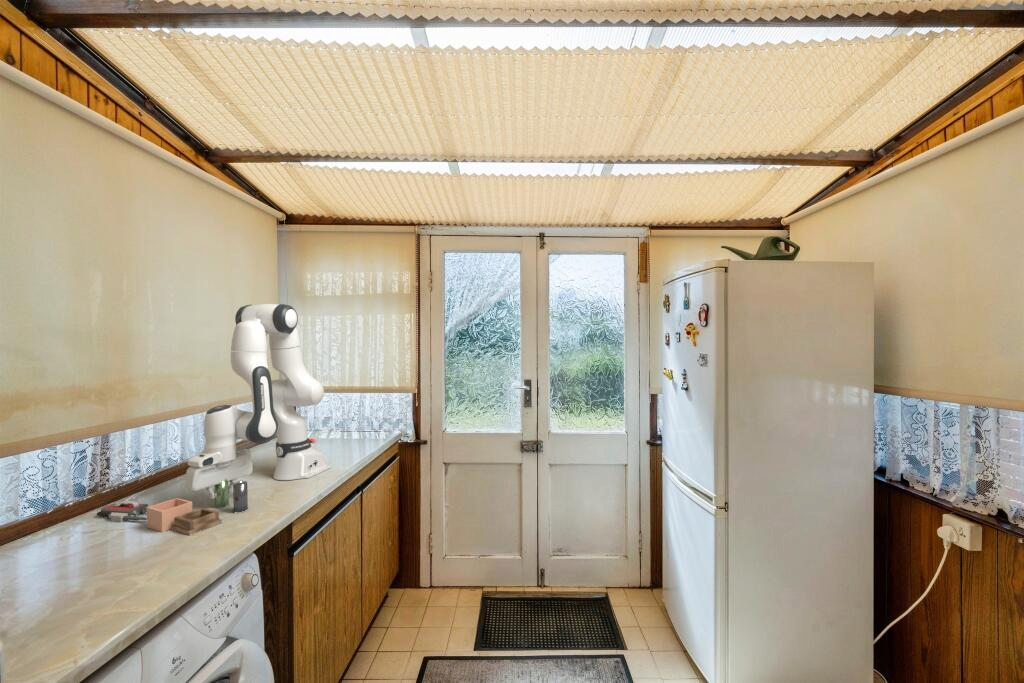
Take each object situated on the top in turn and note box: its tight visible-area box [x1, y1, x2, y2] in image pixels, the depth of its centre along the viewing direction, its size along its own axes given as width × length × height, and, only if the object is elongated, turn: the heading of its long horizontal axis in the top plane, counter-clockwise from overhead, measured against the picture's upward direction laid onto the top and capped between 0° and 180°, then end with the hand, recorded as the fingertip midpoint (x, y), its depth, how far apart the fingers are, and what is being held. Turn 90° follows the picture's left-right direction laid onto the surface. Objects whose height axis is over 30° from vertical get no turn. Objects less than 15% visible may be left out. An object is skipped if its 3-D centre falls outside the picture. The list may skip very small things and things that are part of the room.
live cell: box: [213, 479, 230, 508], centre depth 148 cm, size 4×4×10 cm
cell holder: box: [171, 507, 223, 536], centre depth 133 cm, size 9×9×4 cm
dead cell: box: [232, 480, 249, 513], centre depth 144 cm, size 4×4×10 cm
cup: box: [146, 497, 193, 533], centre depth 134 cm, size 8×8×6 cm
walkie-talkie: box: [96, 500, 149, 523], centre depth 141 cm, size 9×4×20 cm
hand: (221, 495), depth 148 cm, fingers closed on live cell, 4 cm apart
